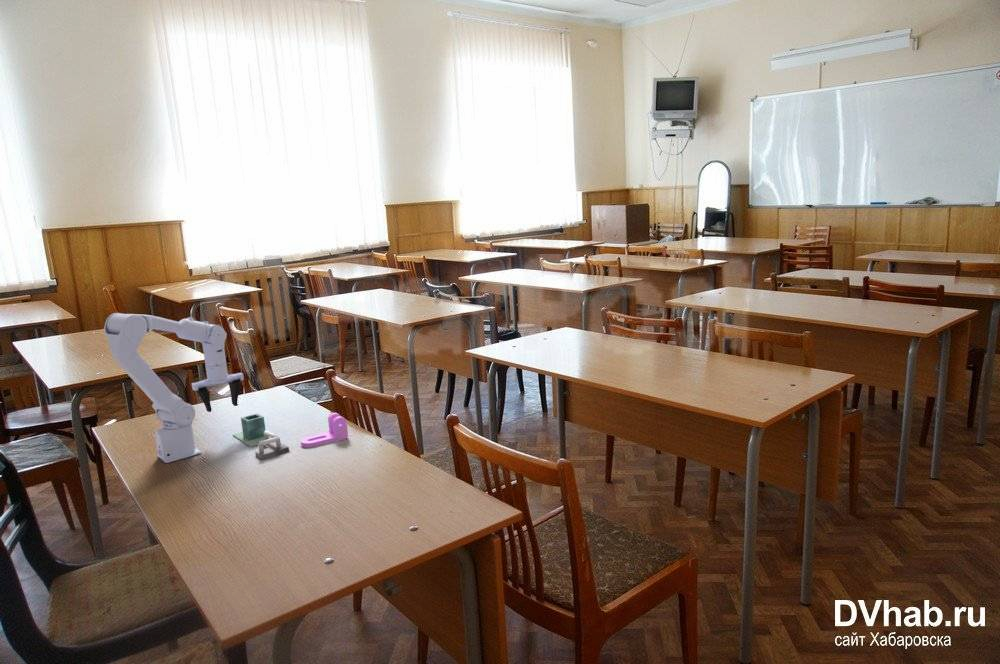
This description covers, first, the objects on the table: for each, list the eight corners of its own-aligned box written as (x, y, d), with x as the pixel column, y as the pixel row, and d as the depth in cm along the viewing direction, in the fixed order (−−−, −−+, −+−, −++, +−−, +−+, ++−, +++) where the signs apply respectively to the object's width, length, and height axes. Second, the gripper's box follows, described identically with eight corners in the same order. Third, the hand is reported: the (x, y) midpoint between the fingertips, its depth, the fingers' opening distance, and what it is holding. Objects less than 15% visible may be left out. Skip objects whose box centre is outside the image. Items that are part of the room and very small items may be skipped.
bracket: (341, 433, 201) (339, 411, 200) (348, 438, 197) (346, 416, 195) (298, 443, 194) (296, 421, 193) (304, 449, 190) (301, 426, 188)
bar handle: (261, 459, 183) (259, 444, 183) (245, 449, 192) (243, 434, 191) (289, 451, 189) (287, 436, 188) (271, 441, 197) (270, 427, 196)
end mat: (251, 446, 194) (251, 445, 193) (232, 435, 204) (232, 434, 204) (277, 439, 199) (277, 437, 199) (258, 428, 209) (258, 427, 209)
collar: (249, 440, 198) (247, 421, 196) (243, 436, 201) (240, 417, 200) (266, 435, 201) (263, 416, 200) (259, 432, 205) (257, 413, 203)
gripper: (195, 371, 190) (201, 416, 193) (245, 361, 200) (251, 404, 202) (186, 367, 195) (193, 411, 198) (236, 357, 205) (242, 400, 207)
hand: (222, 408), depth 201 cm, fingers open, 7 cm apart
